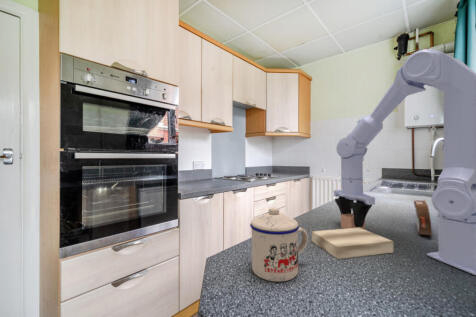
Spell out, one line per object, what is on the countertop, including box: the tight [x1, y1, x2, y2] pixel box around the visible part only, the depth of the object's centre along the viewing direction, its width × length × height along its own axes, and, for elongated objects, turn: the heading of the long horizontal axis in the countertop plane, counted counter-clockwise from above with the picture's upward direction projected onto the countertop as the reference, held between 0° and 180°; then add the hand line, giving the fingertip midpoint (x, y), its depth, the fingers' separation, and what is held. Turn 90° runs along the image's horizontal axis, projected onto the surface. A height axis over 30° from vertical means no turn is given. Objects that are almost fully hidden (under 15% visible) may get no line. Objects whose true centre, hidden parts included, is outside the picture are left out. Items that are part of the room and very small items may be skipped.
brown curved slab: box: [413, 199, 433, 237], centre depth 61 cm, size 15×3×8 cm, turn 143°
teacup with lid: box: [249, 207, 309, 282], centre depth 41 cm, size 12×9×12 cm
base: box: [311, 227, 394, 260], centre depth 51 cm, size 10×14×2 cm
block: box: [340, 212, 366, 230], centre depth 64 cm, size 4×4×4 cm
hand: (352, 224), depth 64 cm, fingers closed on block, 4 cm apart
